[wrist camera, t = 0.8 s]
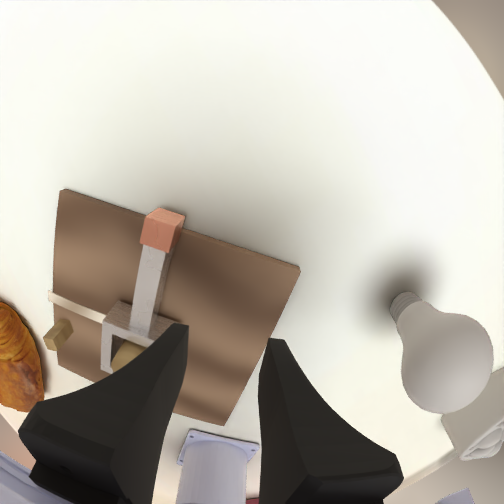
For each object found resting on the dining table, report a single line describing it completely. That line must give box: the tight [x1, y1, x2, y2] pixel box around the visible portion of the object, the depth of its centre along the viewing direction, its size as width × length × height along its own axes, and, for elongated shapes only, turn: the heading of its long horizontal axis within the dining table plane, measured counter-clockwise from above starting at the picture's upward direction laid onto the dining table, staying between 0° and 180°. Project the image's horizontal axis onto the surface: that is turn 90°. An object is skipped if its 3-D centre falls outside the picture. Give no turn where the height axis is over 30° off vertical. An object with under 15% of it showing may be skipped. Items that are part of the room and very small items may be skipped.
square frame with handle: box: [101, 208, 185, 374], centre depth 18 cm, size 13×5×3 cm, turn 161°
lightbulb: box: [390, 292, 494, 414], centre depth 16 cm, size 6×6×11 cm
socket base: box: [43, 189, 301, 426], centre depth 20 cm, size 18×18×5 cm
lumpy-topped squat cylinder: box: [441, 367, 504, 461], centre depth 23 cm, size 10×13×9 cm
